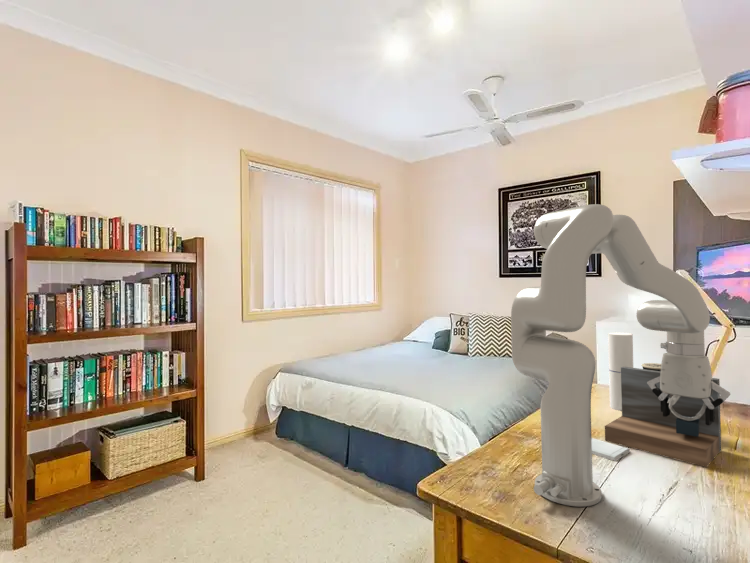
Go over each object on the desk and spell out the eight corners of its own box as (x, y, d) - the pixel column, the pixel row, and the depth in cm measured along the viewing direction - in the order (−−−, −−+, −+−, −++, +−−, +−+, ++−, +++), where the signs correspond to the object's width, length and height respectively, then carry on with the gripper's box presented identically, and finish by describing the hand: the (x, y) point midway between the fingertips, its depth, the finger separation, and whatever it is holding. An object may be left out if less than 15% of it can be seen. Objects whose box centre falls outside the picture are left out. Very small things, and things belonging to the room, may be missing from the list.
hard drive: (565, 441, 110) (614, 456, 100) (580, 434, 115) (629, 447, 105) (565, 447, 110) (615, 463, 100) (581, 440, 115) (629, 454, 105)
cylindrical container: (605, 405, 144) (603, 332, 144) (624, 404, 145) (622, 332, 145) (619, 411, 137) (617, 335, 137) (639, 410, 138) (637, 334, 138)
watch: (668, 425, 109) (667, 383, 109) (708, 431, 103) (707, 387, 103) (666, 431, 104) (665, 387, 104) (707, 438, 99) (706, 392, 99)
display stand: (706, 467, 96) (704, 388, 96) (605, 440, 113) (603, 374, 113) (721, 450, 105) (719, 378, 105) (625, 428, 122) (623, 366, 122)
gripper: (640, 347, 108) (642, 414, 108) (726, 355, 95) (728, 432, 95) (650, 344, 113) (652, 408, 113) (734, 351, 100) (735, 424, 100)
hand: (687, 419), depth 104 cm, fingers closed on watch, 8 cm apart
